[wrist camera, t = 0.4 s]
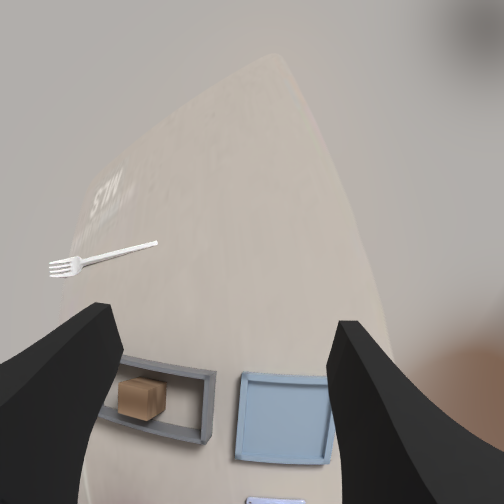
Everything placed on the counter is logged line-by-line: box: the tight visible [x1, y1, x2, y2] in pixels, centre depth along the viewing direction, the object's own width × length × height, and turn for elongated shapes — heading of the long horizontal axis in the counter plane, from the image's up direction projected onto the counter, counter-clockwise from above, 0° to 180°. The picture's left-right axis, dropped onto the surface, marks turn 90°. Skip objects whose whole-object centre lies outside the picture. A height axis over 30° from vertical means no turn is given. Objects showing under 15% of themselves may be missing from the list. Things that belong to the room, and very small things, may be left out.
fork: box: [49, 241, 157, 277], centre depth 41 cm, size 3×20×2 cm, turn 102°
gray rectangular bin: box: [98, 355, 216, 445], centre depth 34 cm, size 9×17×4 cm, turn 85°
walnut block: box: [118, 377, 167, 421], centre depth 32 cm, size 4×4×6 cm
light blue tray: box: [235, 371, 335, 464], centre depth 32 cm, size 12×12×2 cm
